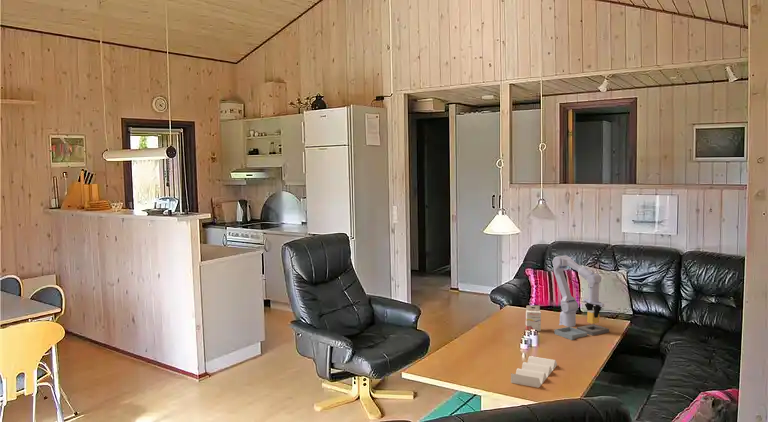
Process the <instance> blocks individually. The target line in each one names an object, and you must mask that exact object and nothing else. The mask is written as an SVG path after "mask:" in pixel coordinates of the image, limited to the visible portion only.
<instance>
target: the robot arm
mask: <svg viewBox="0 0 768 422" xmlns="http://www.w3.org/2000/svg"><path fill="white" fill-rule="evenodd" d="M551 263H552V266H553V274H554V276H555V280H556V283H557V286H558V289H559V292H560V295H561V297H562V298H561V300H560V309H561V311H560V312H559V323H558V326H562V325H563V326H565V327H572V328H575V327H577V325H576V323H577V322H576V321H577V319H576V318H577V316H576V315H577V314H576V313H577V311H578V309H579V308H580V306H579V303H578V302H577V301H576V298H575V297H573V295H572V293H571V291H570V288H569V285H568V282H567V279H566V276H565V273H564V270H565V269H566V268H567V267H570V268H571V269H573V270H574V271H576V272H578V276H581V277H582V278H583V279H584V280H586V281H587V283H588V298H584V299H582V302H583V303H585V304H584V306H585V308H586V311H588V310H594V317H595V318H597V317H598V315H599V316H600V312H601V310H602V308H604V307H605V302H604V303H603V302H601V301H600V300H599V298H600V283H601V282H602V276H601V275H600V274H599V273H594V271H592V270H590V269H589V268H588V267H587V266H583V267H582V266H581V265H580V264H578V263H577V262H575V260H573V259H572V257H570V256H568V254H567V255H561V256H560V255H559V256H555V257H554V258H553V260H552V262H551Z"/></svg>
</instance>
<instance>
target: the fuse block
mask: <svg viewBox="0 0 768 422" xmlns="http://www.w3.org/2000/svg"><path fill="white" fill-rule="evenodd" d="M576 329H578V330H581V331H584V332H587V335H589V336H597V335H602V334H606V333H610V328H607V327H606V326H605V327H604V326H601V325H598V324H596V323H594V324H588V325H583V326H582V325H581V326H576Z"/></svg>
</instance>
